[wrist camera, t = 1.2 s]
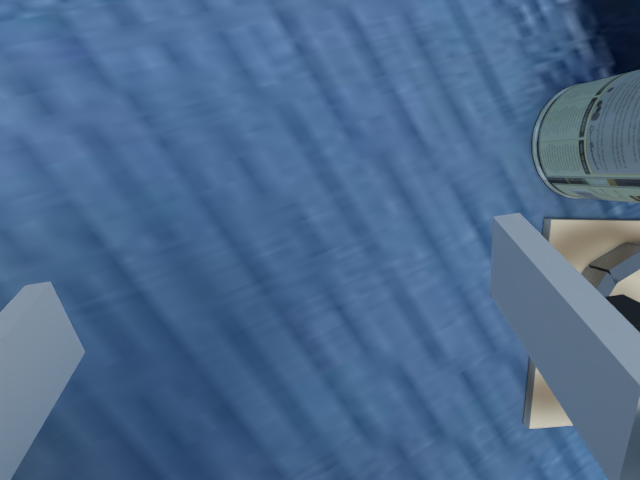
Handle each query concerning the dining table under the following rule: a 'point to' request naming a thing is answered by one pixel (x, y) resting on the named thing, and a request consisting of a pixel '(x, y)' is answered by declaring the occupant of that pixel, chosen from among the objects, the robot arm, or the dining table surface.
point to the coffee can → (592, 140)
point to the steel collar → (613, 267)
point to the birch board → (579, 250)
